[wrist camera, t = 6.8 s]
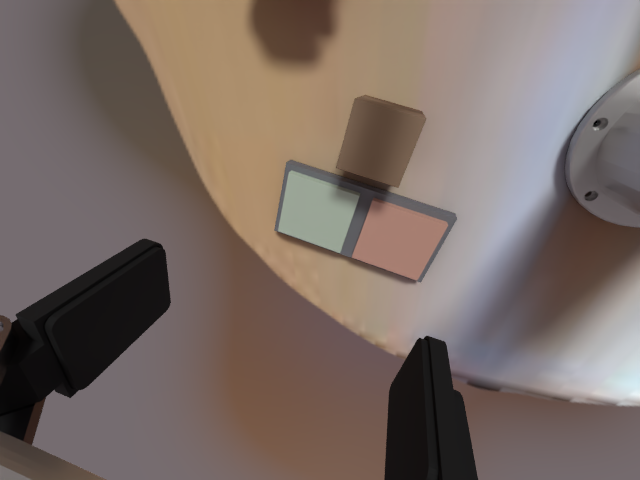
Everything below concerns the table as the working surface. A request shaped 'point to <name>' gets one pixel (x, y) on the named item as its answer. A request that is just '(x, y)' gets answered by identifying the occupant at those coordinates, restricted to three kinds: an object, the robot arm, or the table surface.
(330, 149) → the table surface
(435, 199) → the table surface
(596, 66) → the table surface
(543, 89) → the table surface
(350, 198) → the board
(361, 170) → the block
